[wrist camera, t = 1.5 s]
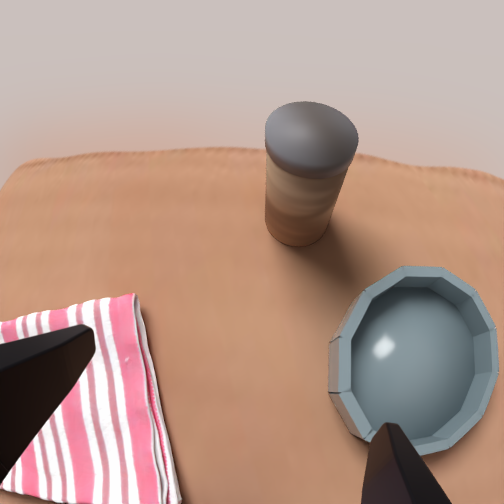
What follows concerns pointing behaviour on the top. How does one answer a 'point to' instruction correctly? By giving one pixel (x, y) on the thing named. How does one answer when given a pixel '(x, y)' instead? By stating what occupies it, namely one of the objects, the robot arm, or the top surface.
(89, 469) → the dish towel
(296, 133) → the walnut jar
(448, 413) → the bowl
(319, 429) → the top surface
